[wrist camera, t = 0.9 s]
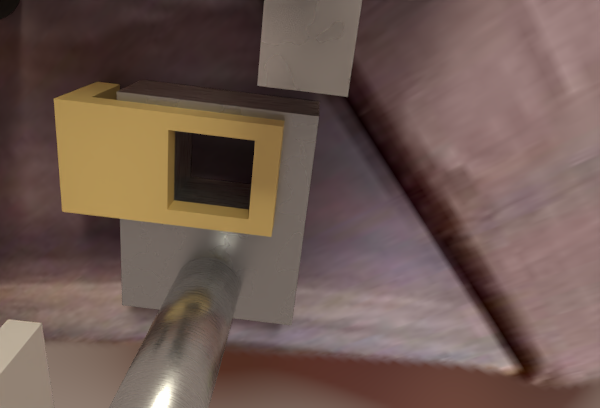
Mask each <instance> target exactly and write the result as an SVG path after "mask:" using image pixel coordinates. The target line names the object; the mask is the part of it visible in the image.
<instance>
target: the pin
mask: <svg viewBox="0 0 600 408" xmlns="http://www.w3.org/2000/svg"><path fill="white" fill-rule="evenodd" d="M361 6H362V0H264V9H263V21H262V33H261V46H260V58H259V70H258V82H257V86H264V87H272V88H280V89H288V90H296V91H304V92H312V93H320V94H328V95H336V96H344V97H348V92H349V85H350V78H351V72H352V65H353V59H354V52H355V46H356V39H357V32H358V26H359V19H360V13H361Z"/></svg>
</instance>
